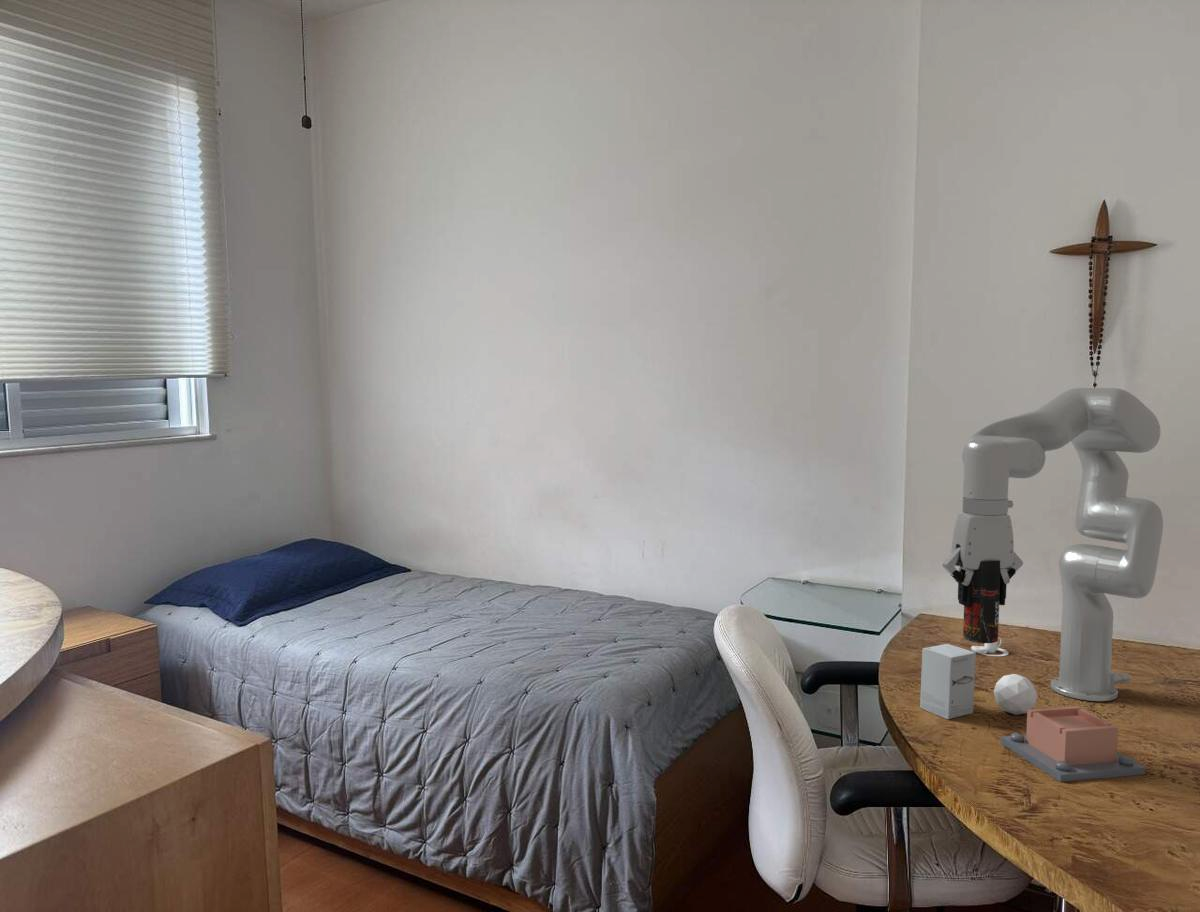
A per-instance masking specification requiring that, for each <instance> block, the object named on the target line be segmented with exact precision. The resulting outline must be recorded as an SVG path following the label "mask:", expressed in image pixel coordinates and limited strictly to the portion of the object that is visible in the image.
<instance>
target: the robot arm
mask: <svg viewBox="0 0 1200 912" xmlns="http://www.w3.org/2000/svg"><path fill="white" fill-rule="evenodd" d="M1160 437H1161V425H1160V422H1159V419H1158V417H1157V415H1155V413H1154V412H1153V411H1152V410H1151V409H1150V408H1148V407H1147V406H1146V405H1145V404H1144V403H1143V402H1142V400H1140V399H1139V398H1137V397H1136V396H1135V395H1134V394H1132V393H1130V392H1129V391H1127V390H1124V389H1121V388H1113V387H1112V388H1111V387H1110V388H1107V387H1105V388H1104V387H1103V388H1102V387H1100V388H1099V387H1078V388H1077V387H1076V388H1071V389H1068V390H1066V391H1064V392H1062V393H1061V394H1059V395H1057V396H1056V397H1054V398H1053V399H1052V400H1050V401H1049V402H1046V403H1045V404H1044V405H1042V406H1041V407H1040V408H1039V409H1037V410H1034V411H1031V412H1026V413H1023V414H1020V415H1017V416H1013V417H1009V418H1005V419H1003V420H998V421H996V422H993V423H990V424H987V425H985V426H984V427H983V428H981V429H980V430H978V431H976V432H974V434H972V435H971V436H970V437H969V438H968V440H967V441H966V442H965V444H964V446H963V448H962V451H961V453H962V455H961V457H962V459H961V460H962V462H963V482H962V483H963V486H962V487H963V488H962V489H963V490H962V491H963V492H962V513H958V514H957V517H956V519H955V525H954V528H953V533H952V534H953V535H952V543H951V551H950V553H951V554H950V555H949V556H948V557H947V558H946V560H945V561H944V562H943V563H942V567H943V568H944V570H945V571H947V573H949V576H951V577H952V578H953V579H954V581H955V582H956V583H957V599H958V603H959V605H962V606H963V607H964V606H966V607H971V606H972V586H971V585H969V583H970V580H971V578H972V575H973V573H974V570H977V569H978V568H979V565H980V561H1000V597H999V606H1005V605H1006V598H1007V585H1008V584H1009V583H1010V581H1011V579H1012V578H1013V576H1014V575H1016V573H1017V571H1018V570H1019V569H1020V568H1021V567H1022V566H1023V564H1024V562H1023V560H1022V559H1021V558H1020V557H1019V555H1017V553H1016V552H1015V551H1014V550H1015V548H1014V547H1015V546H1014V545H1015V544H1014V531H1013V525H1012V520H1011V515H1009V514H1008V511H1009V509H1010V508H1011V509H1012V508H1013V506H1014V503H1013V500H1009V478H1013V479H1029V478H1032V477H1035V476H1036V475H1038V474H1039V473H1040V472H1041V471H1042V470H1043V468H1044V465H1045V463H1046V452H1051V451H1055V450H1059V449H1062V448H1063V447H1065V446H1066V445H1068V444H1069V443H1070V442H1071V443H1072V446H1073V447H1074V449H1075V452H1076V453H1077V456H1078V457H1079V460H1080V464H1081V469H1082V475H1081V484H1080V490H1079V494H1078V501H1077V505H1076V506H1077V507H1076V512H1075V513H1076V514H1075V528H1076V531H1077V532H1078V533H1079V534H1080V535H1081V536H1084V537H1086V538H1091V539H1096V540H1101V541H1108V542H1115V543H1122V544H1127V549H1121V548H1114V547H1110V546H1105V545H1104V546H1103V545H1096V544H1087V543H1076V544H1072V545H1069V546H1067V547H1066V548H1064V549H1063V551H1062V552H1061V553H1060V557H1059V561H1058V568H1059V569H1058V570H1059V577H1060V583H1061V590H1062V591H1061V592H1062V610H1061V611H1062V613H1061V625H1060V626H1061V630H1060V631H1061V632H1060V649H1059V653H1060V654H1059V670H1058V672H1059V673H1058V677H1055V678H1053V679H1051V680H1050V688H1051V689H1052V690H1053V691H1054V692H1055V693H1057V694H1059V695H1063V696H1066V697H1068V698H1073V699H1076V700H1082V701H1090V702H1109V701H1114V700H1115V699H1117V698H1118V697H1119V696H1118V695H1119V691H1118V689H1117V688H1116V687H1115V686H1116V685H1117V684H1118V683H1119V684H1124V683H1126V684H1127V683H1129V682H1131V676H1130V675H1129V673H1125V672H1124V673H1117V674H1116V672H1115V671H1113V670H1111V669H1112V668H1111V667H1112V652H1113V651H1112V649H1113V632H1114V631H1113V629H1114V610H1113V607H1112V605H1111V603H1110V601H1109V599H1108V598H1107V596H1106V595H1113V596H1118V597H1124V598H1128V599H1142V598H1143V599H1144V598H1145V597H1147V596H1148V595H1149V594H1150V592H1151V591H1152V588H1153V587H1154V584H1155V580H1156V574H1157V567H1158V562H1159V555H1160V549H1161V544H1162V537H1163V529H1164V517H1163V513H1162V510H1161V508H1160V507H1159V505H1158V504H1157V503H1155V502H1154V501H1152V500H1150V499H1145V498H1140V497H1128V496H1127V490H1128V484H1129V483H1128V482H1129V471H1128V468H1127V466H1126V464H1125V462H1124V461H1123V459H1122V458H1121V456H1120V455H1119V454H1118V452H1119V453H1123V452H1124V453H1133V454H1134V453H1136V454H1140V453H1141V454H1142V453H1148V452H1150V451H1152V450H1153V449H1154V448H1155V447H1156V446H1157V445H1158V443H1159V440H1160ZM956 566H957V567H959V568H958V569H957V568H956Z"/></svg>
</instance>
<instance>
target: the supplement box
mask: <svg viewBox="0 0 1200 912" xmlns="http://www.w3.org/2000/svg"><path fill="white" fill-rule="evenodd" d="M921 650H922V651H921V654H922V655H921V672H920V673H921V674H920V677H921V678H920V696H919V697H920V699H919V702H920V703H919V705H920V706H919V708H920V709H921V710H924V711H926V712H929V713H931V714H933V715H936V716H938V717H939V718H940V717H941V718H942V719H945V720H947V721H948V720H951V719H953V718H958V717H962V716H965V715H972V714H973V713H974V704H975V703H974V702H975V701H974V700H975V683H976V682H975V678H976V655H977V652H974V651H972V650H968V649H965V648H962V647H958V646H956V645H952V644H950V643H944V644H939V645H934V646H933V645H932V646H929V647H924V648H922V649H921Z"/></svg>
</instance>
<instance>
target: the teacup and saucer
mask: <svg viewBox="0 0 1200 912" xmlns="http://www.w3.org/2000/svg"><path fill="white" fill-rule="evenodd" d="M998 643H999V644H998ZM1002 643H1003V640H1002V638H1001V637H998V641H997V642H995V643H983V644H984V645H981V646H980V645H972V646H971V647H970V649H971V651H972V652H975V653H976V654H979V655H983V656H988V657H1005V656H1006V657H1007V656H1008V655H1009V651H1008V650H1006V649H1004V648H1001V645H1002ZM997 651H1000V652H1002V654H994V653H996V652H997ZM988 653H989V654H988ZM990 653H991V654H990Z"/></svg>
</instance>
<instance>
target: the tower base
mask: <svg viewBox="0 0 1200 912" xmlns="http://www.w3.org/2000/svg"><path fill="white" fill-rule="evenodd" d="M1118 736H1119V726H1117V725H1114V724H1113V725H1112V723H1111V722H1109V721H1107V720H1105V719H1103V718H1101V717H1099V716H1097V715H1095V714H1093V713H1091V712H1089V711H1088V710H1085V709H1084V708H1081V707H1079V706H1078V705H1075V706H1074V705H1072V706H1059V707H1046V708H1032V709H1029V710H1027V713H1026V734H1022V733H1019V732H1012V733H1011V734H1010V735H1003V736H1000V744H1002V745H1003V746H1005V747H1006V748H1008V749H1009V750H1011V751H1012V752H1014V753H1015V754H1017V755H1019V756H1020V757H1021V758H1023V759H1025V760H1026V761H1028V762H1029V763H1031V764H1032V765H1034V766H1035V767H1037V768H1038V769H1040V770H1041V771H1043V772H1044V773H1046V774H1047V775H1049V776H1050V777H1052V778H1054V779H1055V780H1057V781H1059V782H1060V783H1063V782H1073V781H1074V782H1075V781H1084V780H1085V781H1086V780H1095V779H1108V778H1110V779H1111V778H1117V777H1118V778H1119V777H1133V776H1141V775H1145V774H1146V767H1145V766H1143V765H1141V764H1139V763H1138V762H1136V761H1135V759H1134V758H1133V757H1131V756H1128V755H1124V754H1121V752H1118V741H1119V739H1118V738H1119V737H1118Z"/></svg>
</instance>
